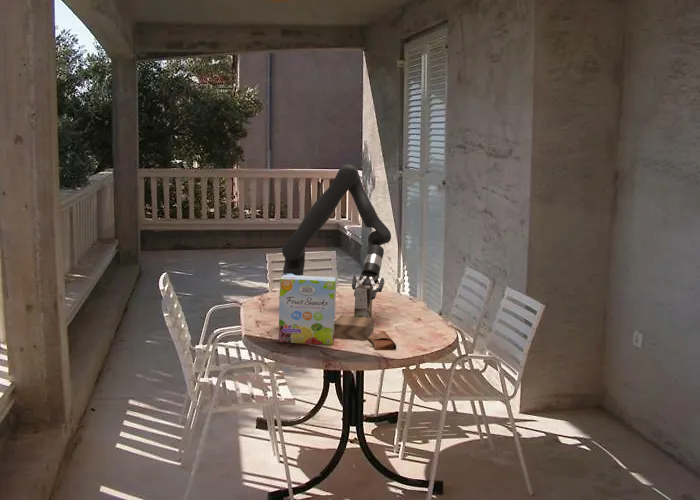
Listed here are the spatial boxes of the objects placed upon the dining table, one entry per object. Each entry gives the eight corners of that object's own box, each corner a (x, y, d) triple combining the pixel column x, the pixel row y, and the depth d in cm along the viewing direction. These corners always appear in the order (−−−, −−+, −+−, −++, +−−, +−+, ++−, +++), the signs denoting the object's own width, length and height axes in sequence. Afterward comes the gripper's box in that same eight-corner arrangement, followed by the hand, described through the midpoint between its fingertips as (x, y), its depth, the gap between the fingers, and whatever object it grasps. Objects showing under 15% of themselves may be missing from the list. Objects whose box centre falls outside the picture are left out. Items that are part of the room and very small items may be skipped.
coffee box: (368, 326, 334) (370, 288, 332) (353, 325, 336) (354, 287, 333) (371, 321, 343) (373, 285, 341) (357, 320, 345) (359, 283, 342)
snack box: (277, 343, 307) (278, 278, 304) (280, 337, 316) (281, 274, 312) (333, 345, 306) (335, 280, 303) (334, 340, 315) (336, 276, 311)
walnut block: (331, 338, 319) (331, 323, 318) (340, 329, 334) (341, 315, 333) (365, 341, 316) (366, 326, 315) (373, 332, 331) (373, 317, 330)
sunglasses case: (365, 338, 318) (374, 324, 318) (379, 346, 320) (388, 332, 320) (374, 350, 301) (384, 335, 301) (390, 359, 303) (399, 344, 302)
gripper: (355, 260, 347) (346, 291, 338) (386, 262, 343) (379, 294, 334) (357, 270, 353) (349, 301, 344) (389, 273, 349) (381, 304, 340)
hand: (364, 297), depth 339 cm, fingers closed on coffee box, 6 cm apart
